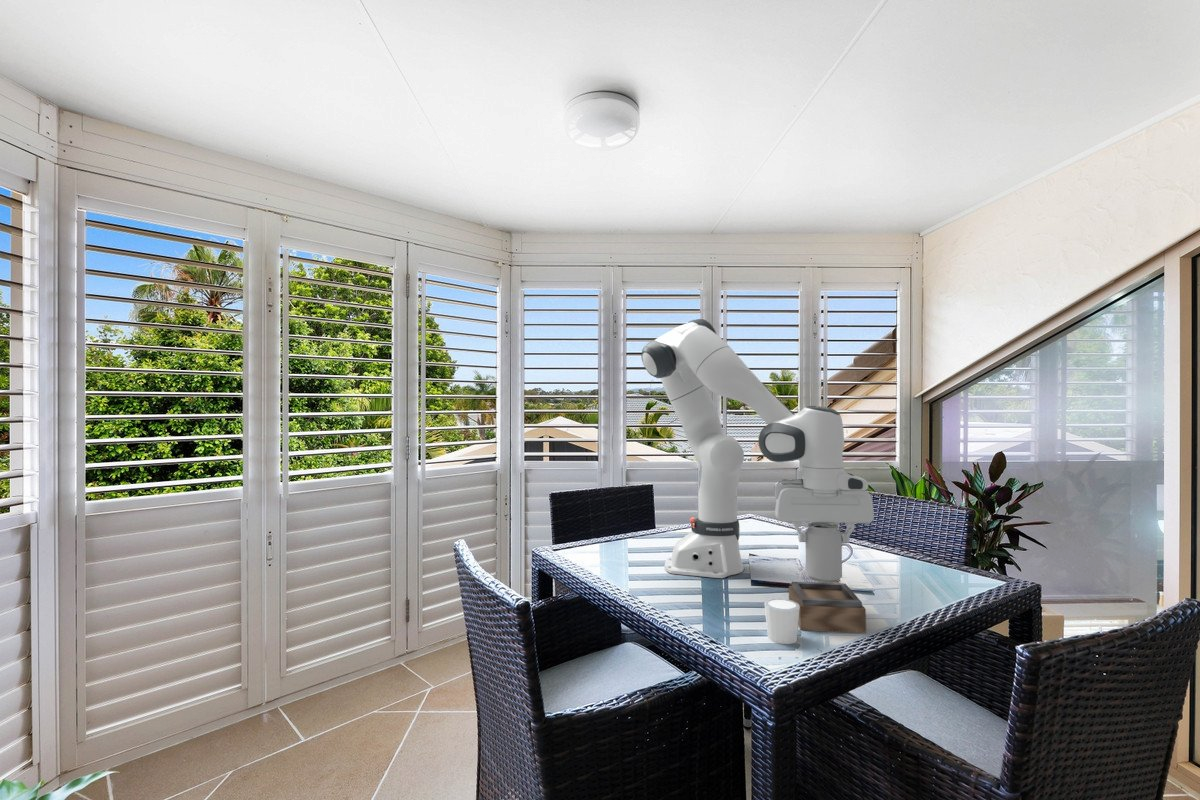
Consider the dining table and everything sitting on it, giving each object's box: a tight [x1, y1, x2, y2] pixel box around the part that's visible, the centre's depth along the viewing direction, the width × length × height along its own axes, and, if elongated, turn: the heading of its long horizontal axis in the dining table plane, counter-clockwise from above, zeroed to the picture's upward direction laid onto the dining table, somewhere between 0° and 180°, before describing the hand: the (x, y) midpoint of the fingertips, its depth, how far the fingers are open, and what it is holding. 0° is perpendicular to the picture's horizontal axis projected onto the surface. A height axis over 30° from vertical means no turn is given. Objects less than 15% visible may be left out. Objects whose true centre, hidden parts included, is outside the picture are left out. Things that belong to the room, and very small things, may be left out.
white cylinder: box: [764, 598, 800, 645], centre depth 114 cm, size 7×7×7 cm
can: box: [804, 522, 843, 583], centre depth 123 cm, size 8×8×12 cm
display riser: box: [788, 581, 867, 634], centre depth 123 cm, size 13×13×6 cm
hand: (823, 542), depth 123 cm, fingers closed on can, 7 cm apart
